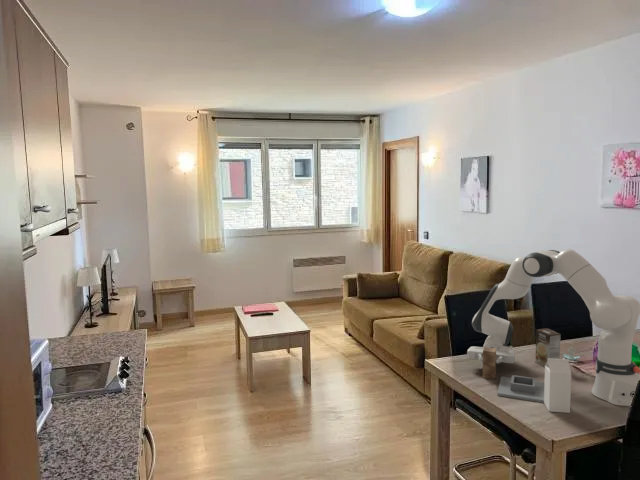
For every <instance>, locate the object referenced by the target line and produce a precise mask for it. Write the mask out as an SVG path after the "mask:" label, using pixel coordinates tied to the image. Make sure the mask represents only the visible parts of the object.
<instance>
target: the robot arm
mask: <svg viewBox="0 0 640 480" xmlns="http://www.w3.org/2000/svg"><path fill="white" fill-rule="evenodd" d="M509 266H510V267H509V268H508V271H507V273H506V275H505V277H504V279H503V280H502V281H501V282H499V283H496V284H495V285H494V286H493V287H492V288H491V290H490V291H489V293H488V294H487V296H486V298H485V299H484V301H483V303H482V304H481V305H480V308H479V310H478V311H477V312H476V313H475V314H474V316H473V317H472V320H471V326H472V328H473V330H474V331H475V332H478V333H481V334H485V335H487V337H486V339H485V341H484V344H483V346H474V345H473V346H470V347H469V348H468V349H467V351H466V355H467V358H468V359H474V360H475V359H476V360H479V362H482V363H483V349H484V347H488V348H496V359H495V361H496V362H495V363H496V364H500V363H505V364H515V363H516V352H515V350H514V348H513V346H512V345H508V344H509V343H510V341H511V340H512V336H513V333H514V326H513V323H512V322H511V321H509V320H507V319H504V318H501V317H499V316H495V315H494V314H491V313H490V310H491V308H492V307H493V306H494V304H495V302H497V301H498V300H517V299H521V298H523V297H525V296H526V295H527V293H528V292H529V291H530V288H531V285H532V283H533V281H534V278H543V277H550V276H553V275H557V274H559V275H561V276H562V277H563V278H564V280H566V282H567V283H568V284H569V285H570V286H571V287H572V288H573V289H574V290H575V292H576V293H577V294H578V295H579V296H580V297H581V299H582V301H584V304H585V306H586V307H587V310H588V311H589V317H590V320H591V322H592V323H593V324H594V326H596V327H597V328H598V329H601V332H600V335H599V337H598V340H597V341H598V342H597V345H598V346H597V357H596V359H595V372H596V373H595V379H594V383H593V386H592V388H591V393H592V394H593V395H594V396H595V397H597V398H598V399H600V400H601V399H602V400H604V401H606V402H608V403H609V404H612V405H614V406H622V407H624V406H625V407H631V406H630V404H631V401H632V398H633V395H634V392H635V388H636V386H637V383H638V381H639V380H640V374H639V373H640V367H638V365H637V364H636V363H635V362H634V361H632V348H633V340H634V337H635V333H636V329H637V325H638V320H639V317H640V302H639V300H638V299H636V298H635V297H633V296H630V295H623V294H621V295H615V296H614V294H613V293H612V291H611V290H610V288H609V286H608V285H607V280H606V278H605V277H604V276H603V275H602V274H601V273H600V272H599V271H598V270H597V269H596V268H595V267H594V266H593V265H592V264H591V263H590V262H589V261H588V260H587V259H586V258H584V256H582V255H581V254H579V253H578V252H576V251H575V250H573V249H571V248H570V249H564V250H561V251H559V250H555V249H549V250H538V251H535V252H531V253H529V254H527V255H526V256H519V257H516V258H515V259H513V261H512V263H511V265H509Z"/></svg>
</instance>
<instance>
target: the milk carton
mask: <svg viewBox="0 0 640 480" xmlns="http://www.w3.org/2000/svg"><path fill="white" fill-rule="evenodd" d="M544 382H545V384H544V405H545V407H546V408H547V410H548V412H552V413H565V414H566V413H568V414H569V413H571V393H572V392H571V391H572V371H571V366H570V362H569V359H563V358H560V359H549V358H548V361H547V363H546V365H545V367H544Z"/></svg>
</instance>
